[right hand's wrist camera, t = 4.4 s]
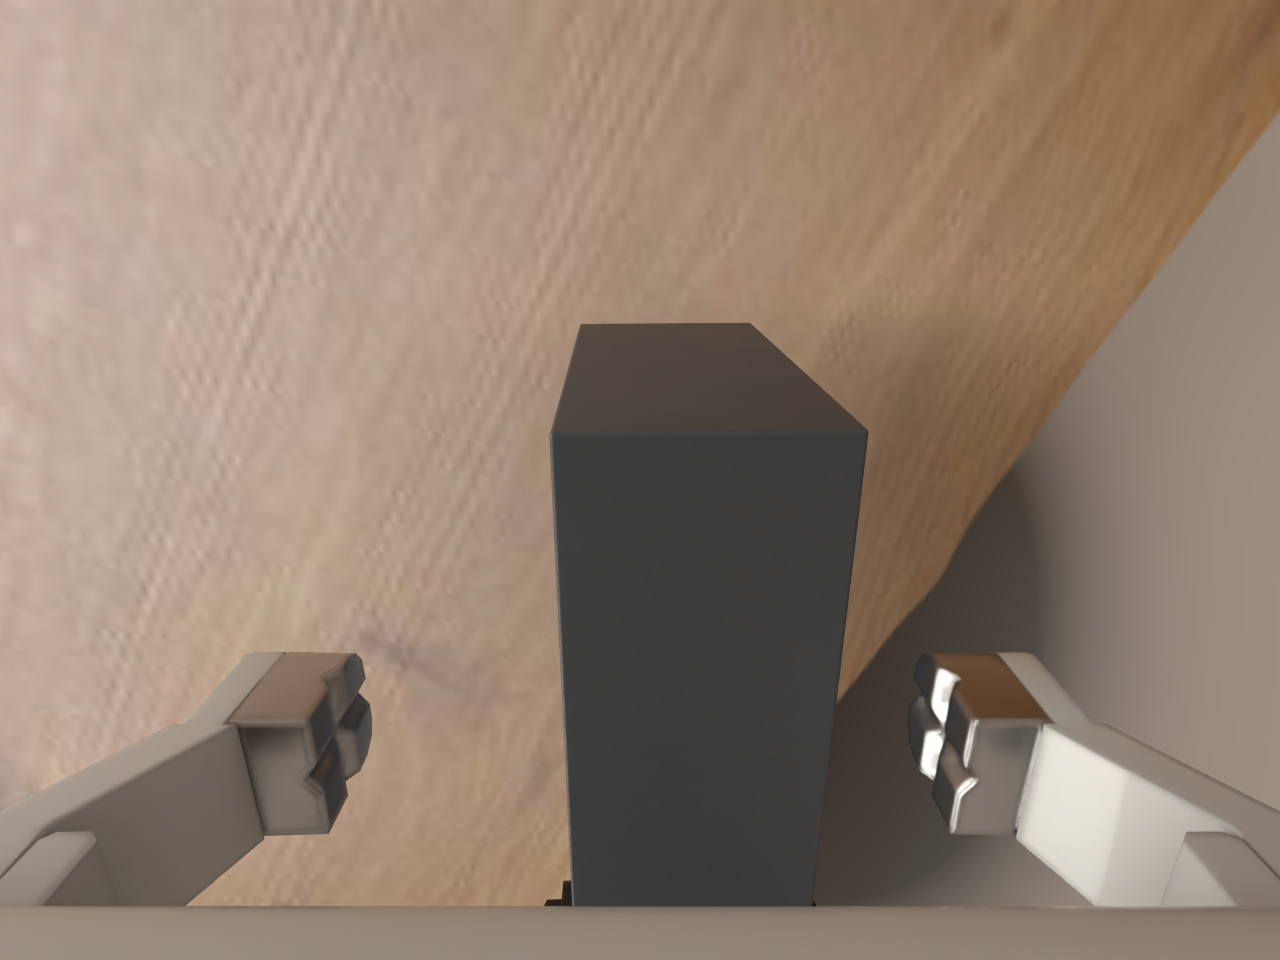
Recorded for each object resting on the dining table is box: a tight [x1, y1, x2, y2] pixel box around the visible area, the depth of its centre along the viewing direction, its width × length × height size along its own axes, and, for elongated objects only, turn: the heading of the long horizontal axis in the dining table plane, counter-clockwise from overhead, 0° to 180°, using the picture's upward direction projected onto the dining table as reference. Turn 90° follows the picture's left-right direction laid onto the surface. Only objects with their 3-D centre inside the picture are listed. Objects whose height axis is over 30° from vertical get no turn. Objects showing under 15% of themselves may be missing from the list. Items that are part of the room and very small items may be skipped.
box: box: [549, 323, 868, 907], centre depth 23 cm, size 22×6×13 cm, turn 0°
